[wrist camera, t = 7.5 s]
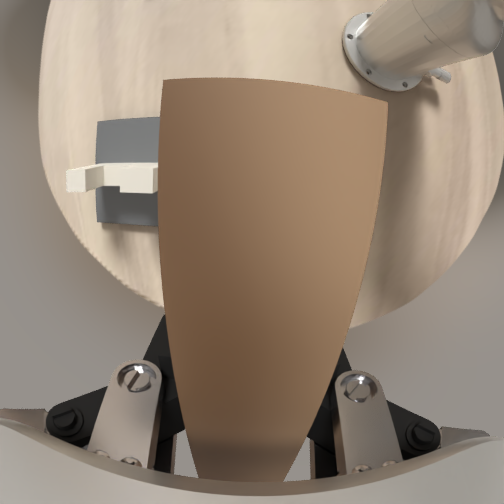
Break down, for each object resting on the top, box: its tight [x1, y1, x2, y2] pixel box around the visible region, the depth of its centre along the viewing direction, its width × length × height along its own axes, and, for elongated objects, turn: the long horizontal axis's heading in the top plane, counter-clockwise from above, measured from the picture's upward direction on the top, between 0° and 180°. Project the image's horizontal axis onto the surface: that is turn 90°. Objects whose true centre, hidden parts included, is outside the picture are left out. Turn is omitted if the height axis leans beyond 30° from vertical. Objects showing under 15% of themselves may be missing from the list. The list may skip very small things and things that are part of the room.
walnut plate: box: [158, 78, 388, 482], centre depth 12 cm, size 3×14×14 cm, turn 176°
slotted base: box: [66, 117, 160, 226], centre depth 28 cm, size 20×14×9 cm
